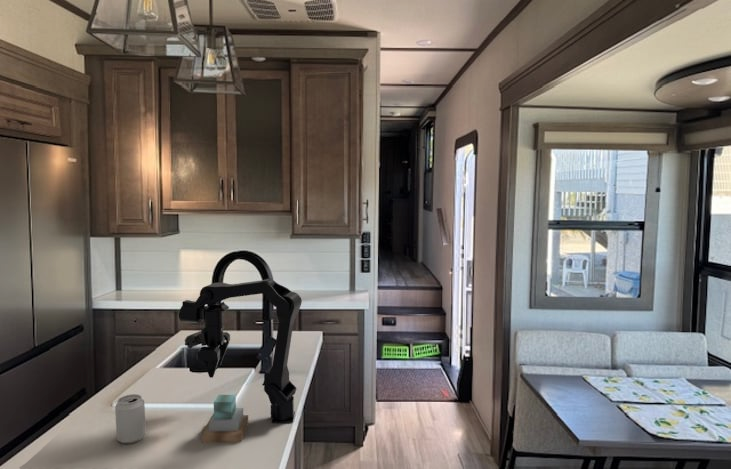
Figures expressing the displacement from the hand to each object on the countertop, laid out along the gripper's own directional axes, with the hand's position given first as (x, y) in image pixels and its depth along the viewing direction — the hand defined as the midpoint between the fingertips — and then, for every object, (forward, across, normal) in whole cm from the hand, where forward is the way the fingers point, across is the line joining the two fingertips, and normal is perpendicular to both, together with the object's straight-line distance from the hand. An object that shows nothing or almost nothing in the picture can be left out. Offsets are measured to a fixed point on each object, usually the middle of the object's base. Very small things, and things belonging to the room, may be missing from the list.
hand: (215, 371), depth 158 cm
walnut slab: (+14, +14, +6) cm, 20 cm away
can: (+13, +16, -20) cm, 29 cm away
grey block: (+11, +14, +6) cm, 18 cm away
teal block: (+8, +14, +6) cm, 17 cm away
